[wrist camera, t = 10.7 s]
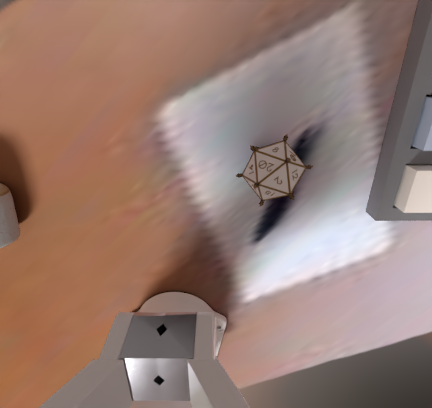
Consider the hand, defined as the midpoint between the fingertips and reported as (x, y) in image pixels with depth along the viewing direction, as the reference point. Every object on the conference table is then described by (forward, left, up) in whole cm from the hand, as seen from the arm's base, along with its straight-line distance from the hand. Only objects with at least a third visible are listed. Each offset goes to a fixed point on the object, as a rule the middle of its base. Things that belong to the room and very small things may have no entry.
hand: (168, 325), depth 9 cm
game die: (-5, -9, -33) cm, 35 cm away
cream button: (-8, -30, -31) cm, 44 cm away
